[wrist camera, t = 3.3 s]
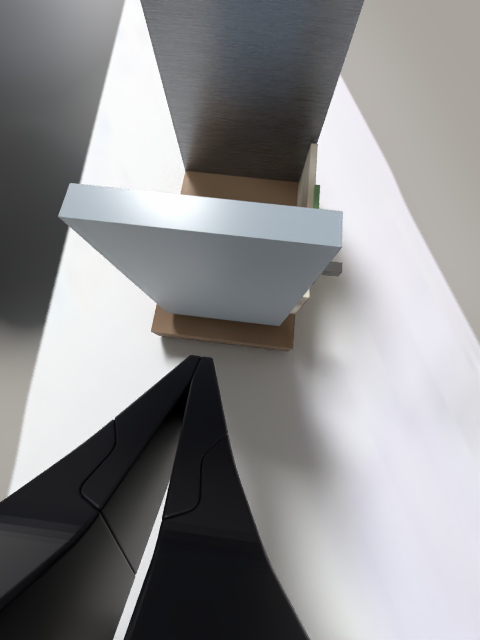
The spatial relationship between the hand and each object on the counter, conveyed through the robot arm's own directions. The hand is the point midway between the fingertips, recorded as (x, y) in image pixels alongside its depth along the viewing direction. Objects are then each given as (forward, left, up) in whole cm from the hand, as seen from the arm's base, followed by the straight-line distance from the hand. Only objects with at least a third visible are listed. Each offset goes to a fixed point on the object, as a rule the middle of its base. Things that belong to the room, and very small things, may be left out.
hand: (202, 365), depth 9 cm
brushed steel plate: (+15, +3, -6) cm, 16 cm away
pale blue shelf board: (+5, 0, -5) cm, 7 cm away
